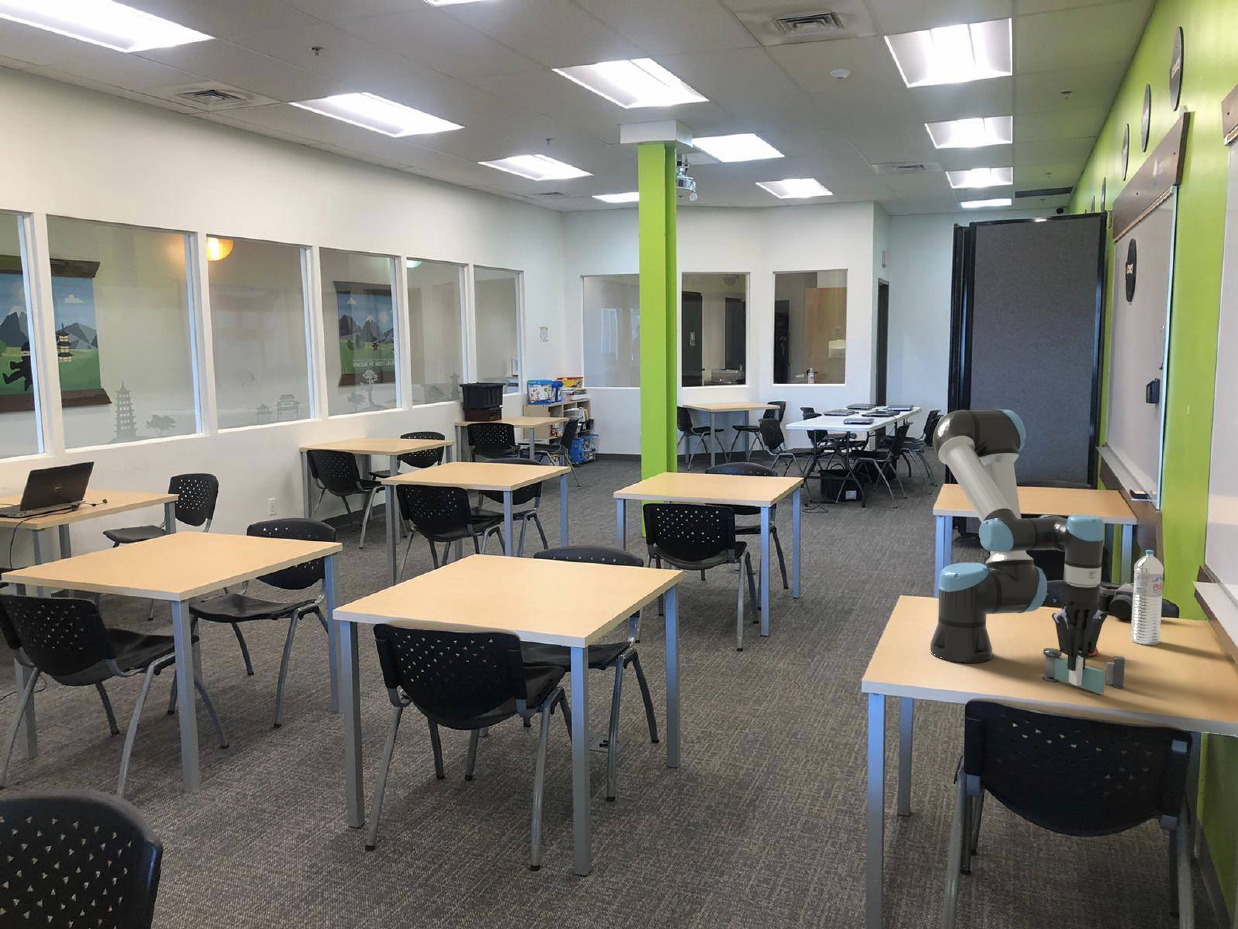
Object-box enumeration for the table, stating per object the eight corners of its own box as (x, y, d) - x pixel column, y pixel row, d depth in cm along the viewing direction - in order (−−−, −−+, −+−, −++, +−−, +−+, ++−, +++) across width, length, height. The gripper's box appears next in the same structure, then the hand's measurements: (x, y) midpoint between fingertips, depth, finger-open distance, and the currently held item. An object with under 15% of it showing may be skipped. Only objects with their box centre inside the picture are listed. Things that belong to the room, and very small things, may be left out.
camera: (1089, 617, 274) (1090, 584, 273) (1098, 609, 281) (1100, 577, 280) (1149, 627, 263) (1151, 592, 262) (1157, 619, 271) (1159, 585, 270)
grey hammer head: (1042, 680, 221) (1043, 652, 221) (1042, 675, 225) (1043, 647, 224) (1061, 682, 220) (1062, 654, 219) (1060, 677, 224) (1061, 649, 223)
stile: (1106, 686, 217) (1108, 657, 216) (1105, 682, 220) (1107, 653, 219) (1123, 688, 216) (1124, 659, 215) (1121, 684, 218) (1123, 655, 218)
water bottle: (1149, 637, 253) (1154, 547, 250) (1165, 645, 246) (1170, 553, 243) (1125, 638, 253) (1129, 548, 250) (1139, 646, 246) (1144, 553, 243)
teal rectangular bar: (1041, 676, 223) (1042, 655, 222) (1049, 673, 224) (1050, 653, 224) (1097, 694, 211) (1098, 672, 210) (1105, 692, 212) (1107, 670, 211)
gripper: (1067, 588, 206) (1061, 691, 209) (1118, 586, 209) (1110, 687, 212) (1045, 580, 214) (1039, 679, 216) (1094, 578, 216) (1088, 676, 219)
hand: (1074, 683), depth 214 cm, fingers closed
